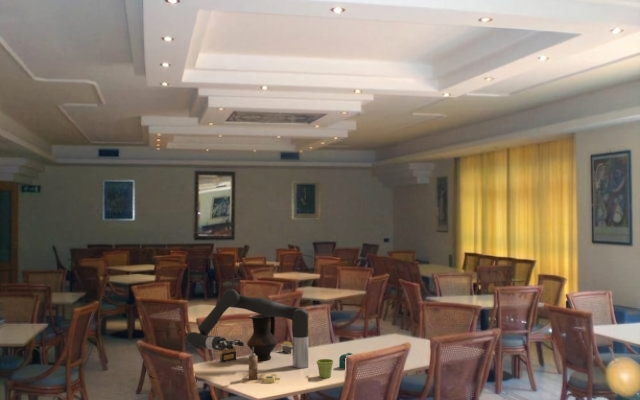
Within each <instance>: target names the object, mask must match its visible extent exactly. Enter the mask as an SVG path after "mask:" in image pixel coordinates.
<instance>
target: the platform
mask: <svg viewBox="0 0 640 400" xmlns="http://www.w3.org/2000/svg"><path fill="white" fill-rule="evenodd" d="M280 346H282V352H283V351H285V352H284V353H287V352H289V353H288V354H292V348H293V342H291V341H290V342H288V341H284V342H283V343H281V344H280Z"/></svg>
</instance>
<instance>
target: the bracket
mask: <svg viewBox="0 0 640 400" xmlns="http://www.w3.org/2000/svg"><path fill="white" fill-rule="evenodd" d="M353 354H354V353H353V352H348V353H344V354H341V355H340V357H339V359H338V363H339V366H338V367H339V369H345V358H346V356H348V355H353Z"/></svg>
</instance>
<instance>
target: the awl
mask: <svg viewBox="0 0 640 400" xmlns="http://www.w3.org/2000/svg"><path fill="white" fill-rule="evenodd" d="M251 351H252V353H251V354H250V355H249V356H248V374H249V380H257V374H258V360H257V356H256V355H255V354H254V347H252V350H251Z"/></svg>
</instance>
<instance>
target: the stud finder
mask: <svg viewBox="0 0 640 400" xmlns="http://www.w3.org/2000/svg"><path fill="white" fill-rule="evenodd" d="M274 381H275V376H265V378H264V383H263V384H275V383H274Z"/></svg>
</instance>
